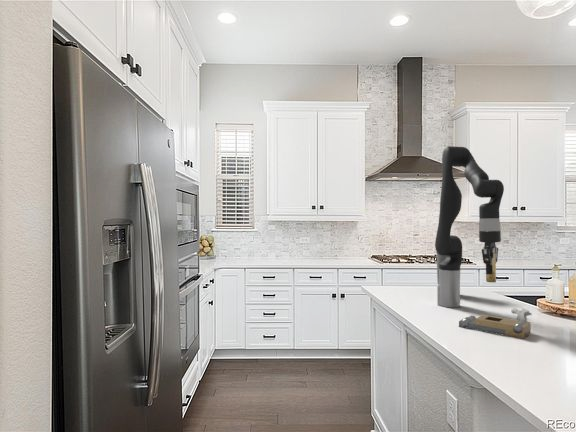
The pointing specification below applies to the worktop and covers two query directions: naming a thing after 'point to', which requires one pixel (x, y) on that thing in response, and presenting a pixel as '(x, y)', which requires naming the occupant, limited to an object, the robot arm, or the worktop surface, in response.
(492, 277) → the pin
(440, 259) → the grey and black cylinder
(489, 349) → the worktop surface
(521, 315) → the adjustable wrench
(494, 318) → the brass frame with rod
